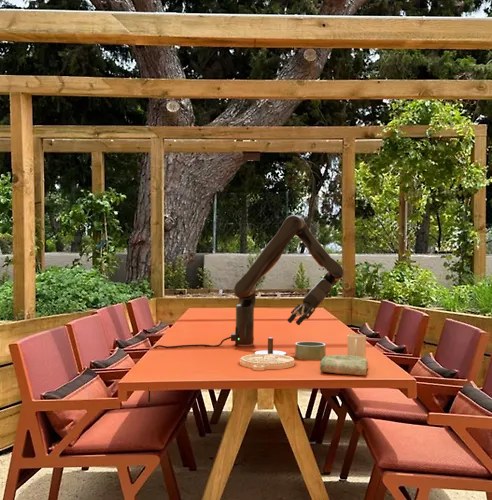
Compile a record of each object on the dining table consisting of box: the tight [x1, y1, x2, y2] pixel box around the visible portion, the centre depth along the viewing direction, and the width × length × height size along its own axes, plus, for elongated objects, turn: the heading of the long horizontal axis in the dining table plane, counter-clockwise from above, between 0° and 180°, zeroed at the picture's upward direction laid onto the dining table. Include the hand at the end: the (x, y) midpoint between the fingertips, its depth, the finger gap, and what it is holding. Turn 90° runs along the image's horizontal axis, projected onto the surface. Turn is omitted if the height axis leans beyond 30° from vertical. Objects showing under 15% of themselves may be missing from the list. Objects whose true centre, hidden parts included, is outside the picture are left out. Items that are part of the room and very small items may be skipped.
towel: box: [319, 354, 368, 376], centre depth 245 cm, size 18×21×5 cm
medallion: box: [239, 353, 296, 372], centre depth 256 cm, size 24×27×2 cm
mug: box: [346, 333, 367, 359], centre depth 261 cm, size 12×8×12 cm
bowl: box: [294, 341, 327, 361], centre depth 273 cm, size 14×14×6 cm
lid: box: [253, 337, 287, 356], centre depth 279 cm, size 15×15×8 cm
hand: (292, 322), depth 284 cm, fingers open, 8 cm apart
